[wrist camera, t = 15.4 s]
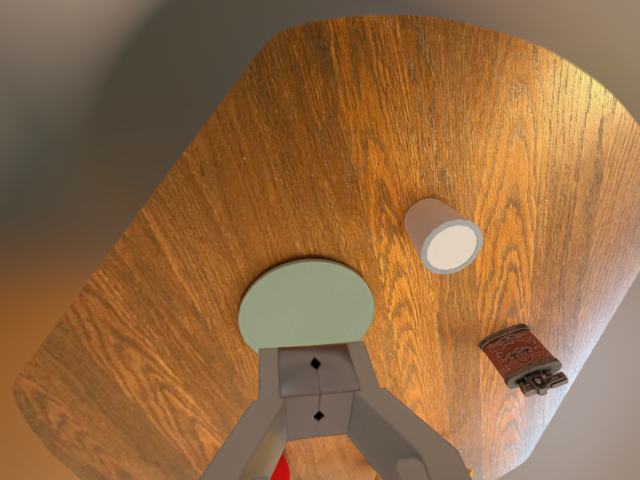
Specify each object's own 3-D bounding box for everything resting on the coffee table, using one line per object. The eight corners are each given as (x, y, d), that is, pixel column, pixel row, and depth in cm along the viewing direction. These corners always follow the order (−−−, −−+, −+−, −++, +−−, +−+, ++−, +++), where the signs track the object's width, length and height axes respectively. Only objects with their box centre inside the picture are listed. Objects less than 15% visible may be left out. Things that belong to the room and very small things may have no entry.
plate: (233, 257, 42) (233, 264, 40) (379, 252, 44) (382, 258, 43) (242, 362, 51) (242, 371, 49) (363, 352, 53) (366, 360, 52)
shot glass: (387, 221, 42) (408, 252, 36) (432, 181, 41) (461, 206, 35) (419, 252, 45) (444, 285, 39) (462, 216, 44) (495, 245, 38)
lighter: (480, 352, 58) (519, 407, 49) (477, 339, 56) (517, 394, 47) (528, 334, 57) (575, 386, 48) (526, 320, 55) (575, 372, 47)
